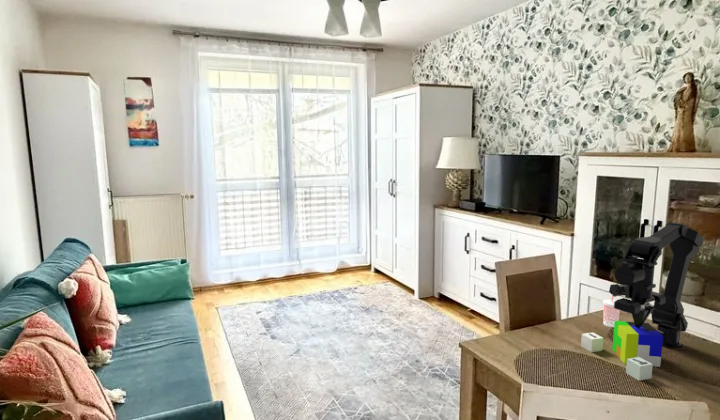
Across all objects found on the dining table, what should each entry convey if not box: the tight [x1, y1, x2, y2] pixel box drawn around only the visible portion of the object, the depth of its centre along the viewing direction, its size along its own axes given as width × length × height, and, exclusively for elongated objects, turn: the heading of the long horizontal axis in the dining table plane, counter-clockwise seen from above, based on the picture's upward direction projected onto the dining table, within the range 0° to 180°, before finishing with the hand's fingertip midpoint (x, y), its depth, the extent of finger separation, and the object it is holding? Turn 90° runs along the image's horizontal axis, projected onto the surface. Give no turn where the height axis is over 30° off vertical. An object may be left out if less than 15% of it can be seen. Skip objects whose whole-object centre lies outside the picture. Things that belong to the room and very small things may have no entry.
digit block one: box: [580, 332, 604, 353], centre depth 143 cm, size 4×4×5 cm
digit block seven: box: [625, 357, 654, 381], centre depth 126 cm, size 4×4×5 cm
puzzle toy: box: [611, 320, 663, 368], centre depth 136 cm, size 10×10×10 cm
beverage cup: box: [602, 294, 621, 328], centre depth 161 cm, size 6×6×14 cm
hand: (637, 327), depth 136 cm, fingers closed
